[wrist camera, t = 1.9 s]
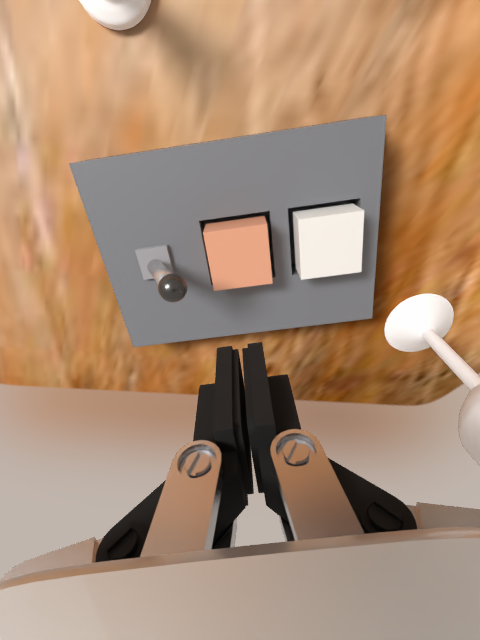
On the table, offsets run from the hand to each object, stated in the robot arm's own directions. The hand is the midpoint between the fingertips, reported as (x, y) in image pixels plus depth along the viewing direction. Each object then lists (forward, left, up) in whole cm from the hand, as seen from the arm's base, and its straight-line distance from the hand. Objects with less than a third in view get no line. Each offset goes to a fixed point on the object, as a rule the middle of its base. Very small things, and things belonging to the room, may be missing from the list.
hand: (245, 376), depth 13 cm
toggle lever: (+7, 0, -14) cm, 16 cm away
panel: (0, 0, -19) cm, 19 cm away
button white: (-6, 0, -16) cm, 17 cm away
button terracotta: (0, 0, -15) cm, 15 cm away
